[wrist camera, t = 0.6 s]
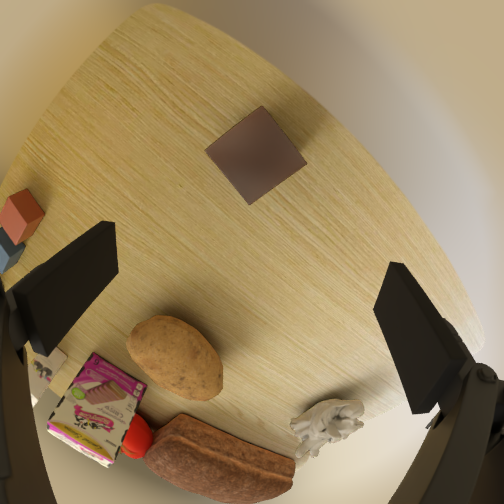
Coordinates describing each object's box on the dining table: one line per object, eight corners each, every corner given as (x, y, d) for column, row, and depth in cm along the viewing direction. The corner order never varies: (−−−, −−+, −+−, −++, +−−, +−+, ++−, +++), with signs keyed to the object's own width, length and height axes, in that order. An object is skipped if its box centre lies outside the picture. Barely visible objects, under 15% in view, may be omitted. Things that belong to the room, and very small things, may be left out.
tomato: (167, 415, 49) (155, 452, 41) (155, 439, 54) (145, 471, 46) (101, 384, 47) (82, 418, 39) (98, 413, 52) (83, 442, 44)
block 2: (9, 222, 35) (-8, 232, 31) (25, 246, 36) (9, 257, 32) (0, 240, 36) (-15, 250, 33) (16, 263, 38) (1, 274, 34)
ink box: (57, 371, 48) (23, 422, 34) (39, 355, 47) (3, 404, 33) (68, 356, 45) (30, 413, 32) (48, 338, 44) (6, 392, 30)
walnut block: (222, 143, 29) (204, 150, 22) (265, 110, 27) (262, 105, 20) (255, 184, 30) (249, 205, 23) (299, 153, 29) (307, 163, 21)
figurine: (291, 466, 37) (366, 458, 32) (281, 409, 42) (356, 395, 36) (312, 452, 44) (377, 442, 38) (303, 402, 48) (368, 388, 43)
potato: (200, 379, 43) (188, 420, 36) (129, 320, 39) (105, 358, 32) (247, 354, 40) (241, 398, 33) (171, 285, 36) (148, 324, 29)
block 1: (27, 188, 32) (8, 196, 29) (45, 214, 34) (27, 224, 30) (15, 210, 34) (-3, 219, 30) (32, 235, 35) (15, 246, 31)
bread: (251, 478, 59) (247, 516, 48) (144, 432, 53) (129, 474, 43) (300, 458, 53) (301, 503, 42) (180, 406, 47) (164, 459, 36)
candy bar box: (148, 384, 45) (116, 463, 30) (140, 396, 47) (109, 469, 32) (92, 349, 43) (45, 421, 28) (87, 363, 45) (45, 431, 30)
